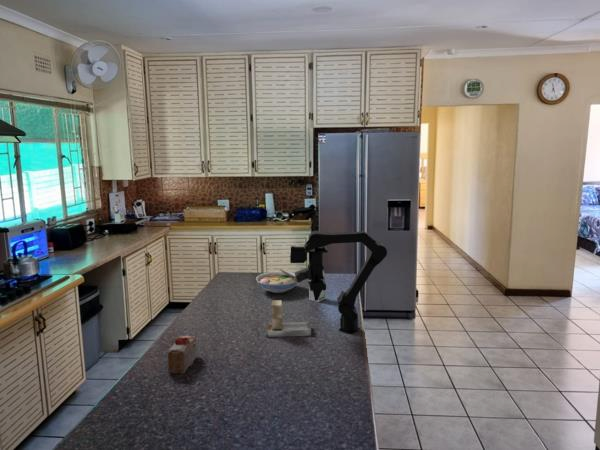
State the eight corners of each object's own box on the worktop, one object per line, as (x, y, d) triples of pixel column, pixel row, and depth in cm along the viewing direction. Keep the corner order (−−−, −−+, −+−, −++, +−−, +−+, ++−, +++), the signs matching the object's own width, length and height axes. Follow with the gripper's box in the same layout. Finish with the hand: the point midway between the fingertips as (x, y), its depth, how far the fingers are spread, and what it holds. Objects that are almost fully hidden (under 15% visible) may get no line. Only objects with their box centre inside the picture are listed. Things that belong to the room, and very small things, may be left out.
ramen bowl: (249, 287, 242) (249, 272, 241) (288, 281, 252) (288, 267, 250) (266, 302, 220) (265, 285, 218) (308, 294, 229) (308, 279, 228)
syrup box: (318, 302, 218) (318, 273, 215) (308, 300, 222) (308, 271, 219) (325, 299, 223) (325, 270, 220) (315, 296, 226) (315, 268, 223)
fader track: (309, 327, 189) (309, 321, 189) (311, 335, 181) (311, 329, 181) (266, 328, 188) (266, 323, 188) (266, 337, 180) (265, 331, 180)
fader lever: (282, 326, 187) (281, 300, 185) (282, 331, 182) (281, 305, 180) (272, 326, 187) (271, 300, 185) (272, 332, 181) (271, 305, 179)
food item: (179, 355, 167) (177, 329, 165) (200, 355, 166) (199, 330, 164) (166, 373, 153) (163, 346, 152) (189, 374, 153) (187, 347, 151)
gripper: (294, 257, 189) (295, 293, 192) (296, 270, 171) (297, 309, 174) (321, 256, 190) (321, 292, 193) (326, 269, 172) (326, 308, 175)
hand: (316, 300), depth 184 cm, fingers closed
